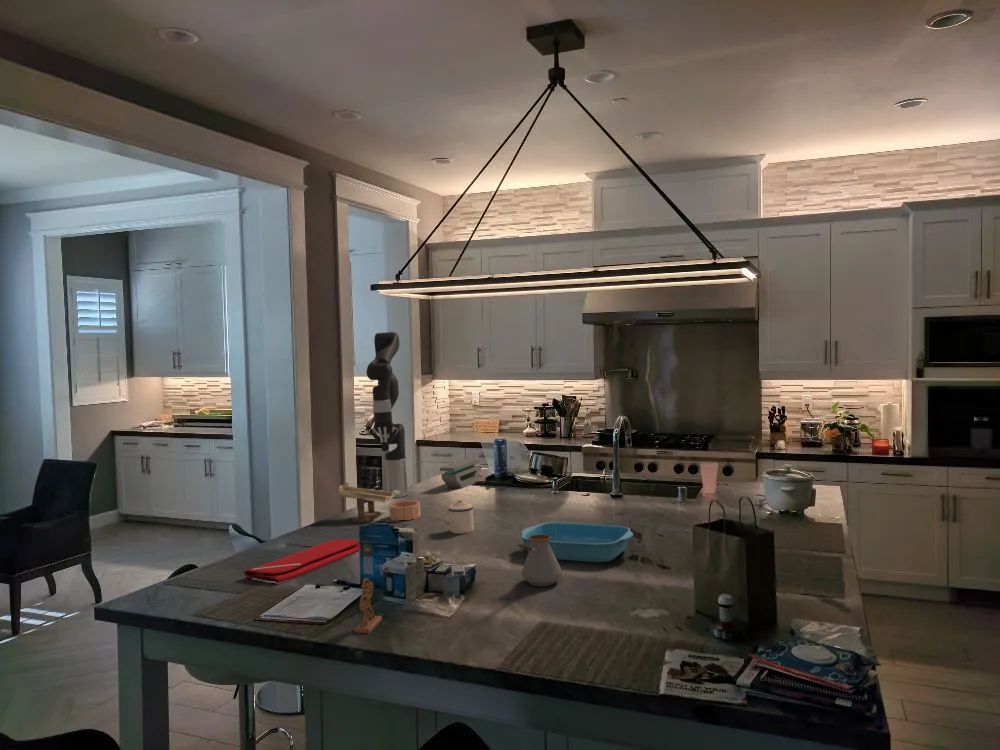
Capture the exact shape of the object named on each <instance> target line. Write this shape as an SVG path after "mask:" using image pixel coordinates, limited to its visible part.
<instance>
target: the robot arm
mask: <svg viewBox="0 0 1000 750" xmlns="http://www.w3.org/2000/svg"><path fill="white" fill-rule="evenodd" d="M373 339H374V341H373V344H374V350H375V351H374V352H375V357H374V359H373V360H371V362H370V363H369V364H368V365H367V367H366V376H367V378H368V379H369V380H371V381H377V385H376V386H373V387H372V400H373V402H372V403H373V404H372V408H373V409H372V411H373V422H374V424H373V427H372V428H371V429H370V430H369V431H368V433H370V435H371V436H372V437H373V438H374V440H375V441H376V442H379V443H380V445H381V450H382V452H386V453H385V455H384V459H385V471H386V473H385V474H386V485H387V486H386V487H387V492H393V491H395V490H400V494H398V495H397V496H395V497H396V498H402V497H403V496H404V497H407V496H408V495H409V487H408V475H407V463H406V462H407V461H406V457H407V456H406V435H405V434H406V433H405V427H404V425H403V423H393V414H392V413H393V412H392V409H393V407H394V406H395V404H396V403H397V400H398V398H399V394H400V393H399V392H400V390H399V380H398V379H397V376H396V375H395V373H394V372H393V367H392V365H391V363H392V359H393V358H394V357H395V355H396V354H397V353H398V351H399V349H400V337H399V334H398V333H397V332H395V331H394V332H393V331H390V332H389V331H387V332H376V333H375V335H374V338H373ZM390 445H396V447H395V448H393V449H392V450H390ZM406 495H407V496H406ZM395 497H393V498H392V499H394V498H395Z"/></svg>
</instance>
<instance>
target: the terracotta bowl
mask: <svg viewBox="0 0 1000 750" xmlns="http://www.w3.org/2000/svg"><path fill="white" fill-rule="evenodd" d="M388 507H389V518H390V520H391V519H392V520H391V521H393V520H410V521H412V520H411V519H415V520H417V518H418V519H420V518H419V517H421V516H422V515H421V514H422V513H421V512H422V511H421V502H419V500H401V501H395V502H392V503H391V504H388Z"/></svg>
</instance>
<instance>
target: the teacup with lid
mask: <svg viewBox="0 0 1000 750" xmlns="http://www.w3.org/2000/svg"><path fill="white" fill-rule="evenodd" d="M445 514H446V515H448V516H449V522H447V521H446V520H445V518H444V516H445ZM440 516H441V517H440V518H441V521H442V523H443V524H445V525H446V526H450V527H449V528H450V532H451V533H452V534H456V535H458V534H459V535H461V534H469V533H472V532H473V531H474V530H475V528H474V527H475V526H474V525H475V524H474V506H473V504H471V503H468V502H466V501H464V500H463V498H458V499H457V502H454V503H452V505H449V507H448V511H444V512H443V513H442V514H441V515H440Z"/></svg>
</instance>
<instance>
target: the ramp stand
mask: <svg viewBox="0 0 1000 750" xmlns="http://www.w3.org/2000/svg"><path fill="white" fill-rule="evenodd" d="M356 507H357V508H356V509H357V517H355V518H353V519H352V523H369V522H370V521H371V520H373V519H375V518H376V517H377V516H380V514H381V510H380V511H378V510H377V511H376V506H375V501H369V500H367V511H365V500H364V498H363V497H362V498H357V499H356Z"/></svg>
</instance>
